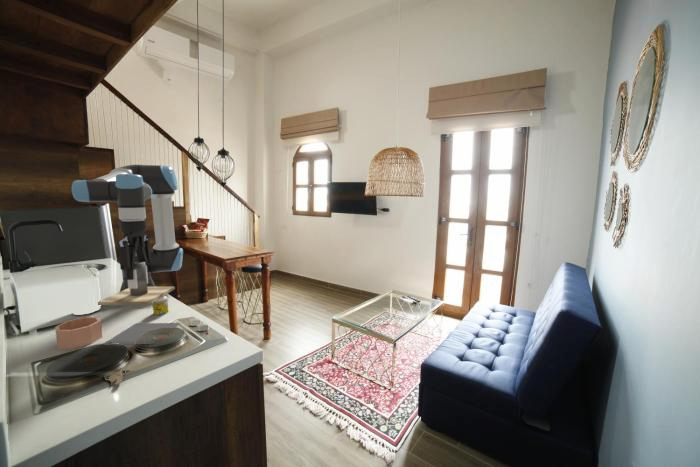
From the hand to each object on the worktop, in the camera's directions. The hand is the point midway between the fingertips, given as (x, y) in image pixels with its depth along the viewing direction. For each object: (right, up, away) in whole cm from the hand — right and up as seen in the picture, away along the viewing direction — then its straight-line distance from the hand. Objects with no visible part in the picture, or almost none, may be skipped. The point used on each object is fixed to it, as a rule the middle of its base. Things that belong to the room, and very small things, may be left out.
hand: (138, 285), depth 104 cm
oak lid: (0, -4, +1) cm, 4 cm away
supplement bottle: (-6, -16, +21) cm, 27 cm away
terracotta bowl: (-18, -19, -3) cm, 26 cm away
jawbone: (+15, -22, -17) cm, 32 cm away
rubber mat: (0, -18, +3) cm, 19 cm away
